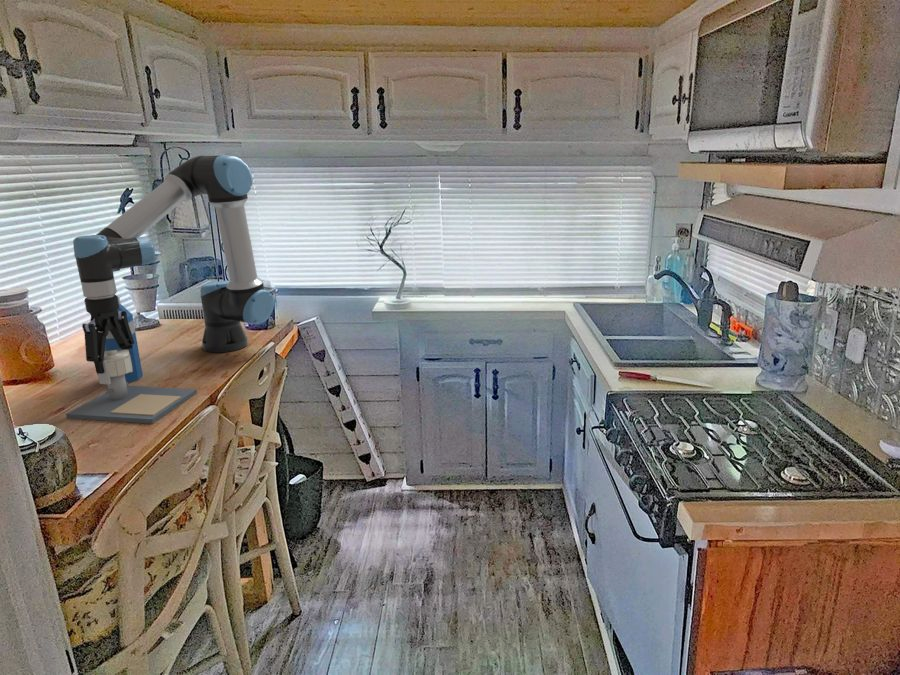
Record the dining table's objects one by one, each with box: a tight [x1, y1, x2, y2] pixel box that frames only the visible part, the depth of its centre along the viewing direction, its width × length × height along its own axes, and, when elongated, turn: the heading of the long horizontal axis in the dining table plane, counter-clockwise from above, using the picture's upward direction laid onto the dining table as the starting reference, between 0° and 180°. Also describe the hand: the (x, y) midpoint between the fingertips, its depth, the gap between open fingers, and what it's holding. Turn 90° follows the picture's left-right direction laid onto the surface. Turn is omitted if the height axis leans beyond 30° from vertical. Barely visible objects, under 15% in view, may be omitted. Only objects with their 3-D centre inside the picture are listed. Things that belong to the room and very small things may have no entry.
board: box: [65, 374, 198, 425], centre depth 155 cm, size 20×24×9 cm
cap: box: [98, 349, 132, 377], centre depth 156 cm, size 8×8×6 cm
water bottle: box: [98, 296, 144, 384], centre depth 172 cm, size 9×9×25 cm
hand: (116, 377), depth 157 cm, fingers closed on cap, 8 cm apart
